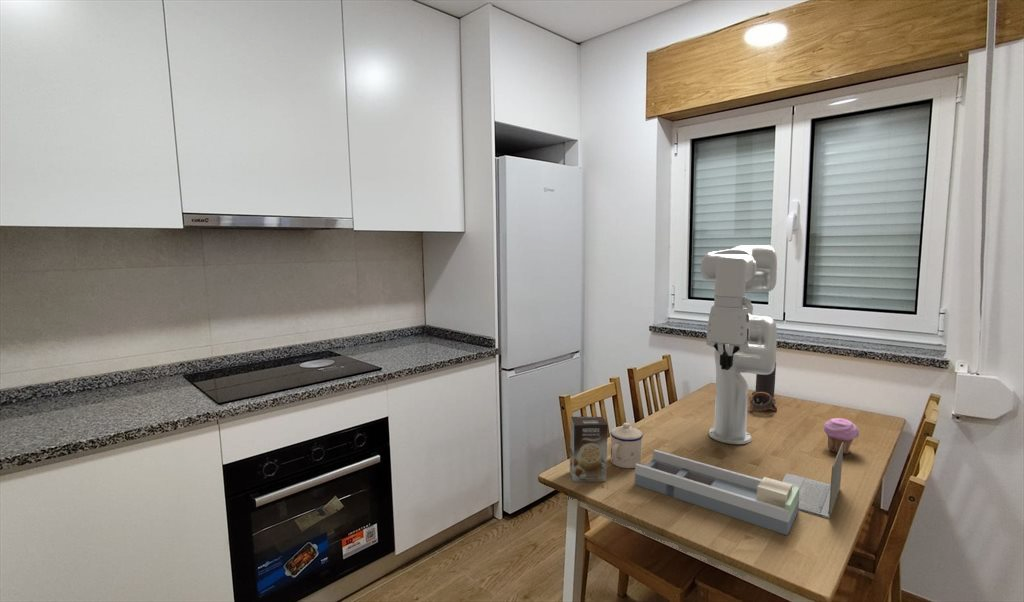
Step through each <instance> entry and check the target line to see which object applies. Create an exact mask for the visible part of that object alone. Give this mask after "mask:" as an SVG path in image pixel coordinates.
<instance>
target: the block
mask: <svg viewBox="0 0 1024 602" xmlns="http://www.w3.org/2000/svg"><path fill="white" fill-rule="evenodd" d="M761 479H762V481H761V482H760V483H759V485H758V486H757V500H759V501H762V502H766V503H769V504H772V505H775V506H779V507H782V508H785V503H786V501H787V499H788V498H789V496H790V494H791V492H792V484H788V483H785V482H782V481H781V480H777V479H773V478H771V477H770V478H769V477H766V476H763V478H761Z"/></svg>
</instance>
